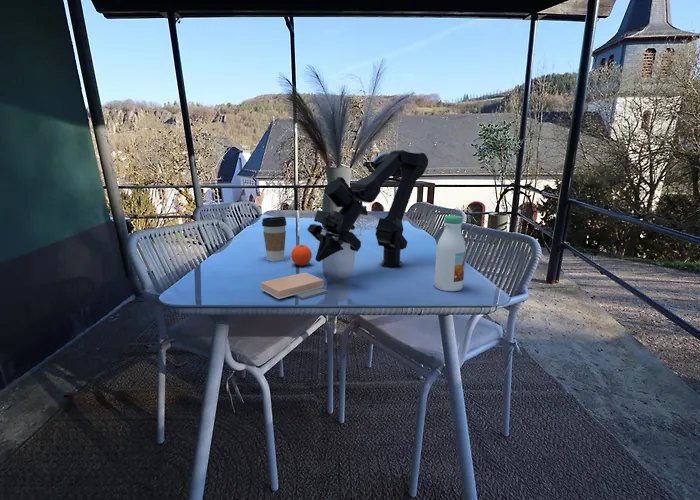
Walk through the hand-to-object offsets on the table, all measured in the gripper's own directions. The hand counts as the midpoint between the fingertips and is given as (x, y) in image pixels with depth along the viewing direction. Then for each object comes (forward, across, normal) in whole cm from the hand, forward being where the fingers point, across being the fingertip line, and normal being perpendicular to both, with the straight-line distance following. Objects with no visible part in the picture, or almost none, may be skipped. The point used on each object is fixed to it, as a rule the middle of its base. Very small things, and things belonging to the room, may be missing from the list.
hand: (317, 260), depth 101 cm
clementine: (0, -20, +10) cm, 22 cm away
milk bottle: (-13, +26, +24) cm, 38 cm away
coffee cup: (+2, -31, +8) cm, 32 cm away
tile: (+5, 0, +3) cm, 5 cm away
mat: (+9, 0, 0) cm, 9 cm away
